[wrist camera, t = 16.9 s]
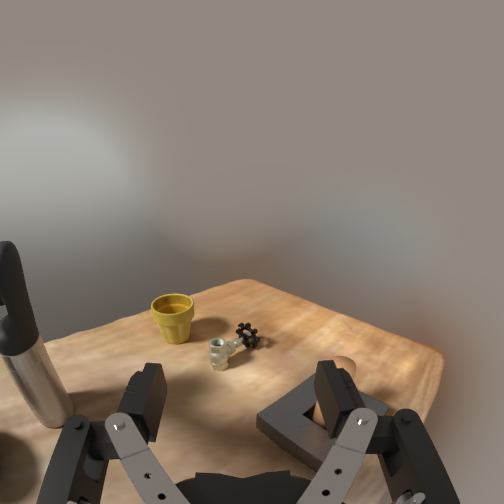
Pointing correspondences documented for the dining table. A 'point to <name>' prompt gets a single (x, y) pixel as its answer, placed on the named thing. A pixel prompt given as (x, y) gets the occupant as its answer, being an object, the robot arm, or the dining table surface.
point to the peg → (340, 363)
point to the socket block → (303, 424)
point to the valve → (230, 346)
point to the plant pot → (173, 316)
